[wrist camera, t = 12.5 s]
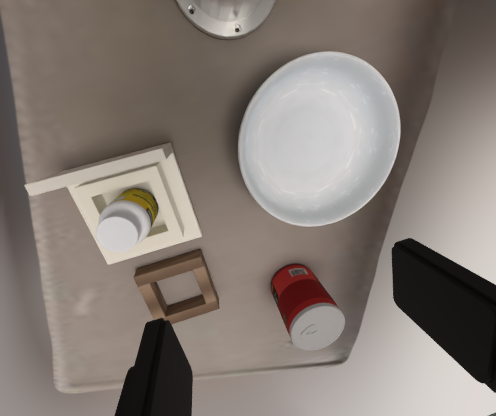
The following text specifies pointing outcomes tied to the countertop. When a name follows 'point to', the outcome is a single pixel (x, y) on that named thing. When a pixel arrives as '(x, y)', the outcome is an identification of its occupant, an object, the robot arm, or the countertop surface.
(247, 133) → the serving bowl
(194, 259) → the walnut socket block
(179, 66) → the countertop surface
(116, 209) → the supplement bottle
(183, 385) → the robot arm
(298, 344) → the canned food
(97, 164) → the cream rack
